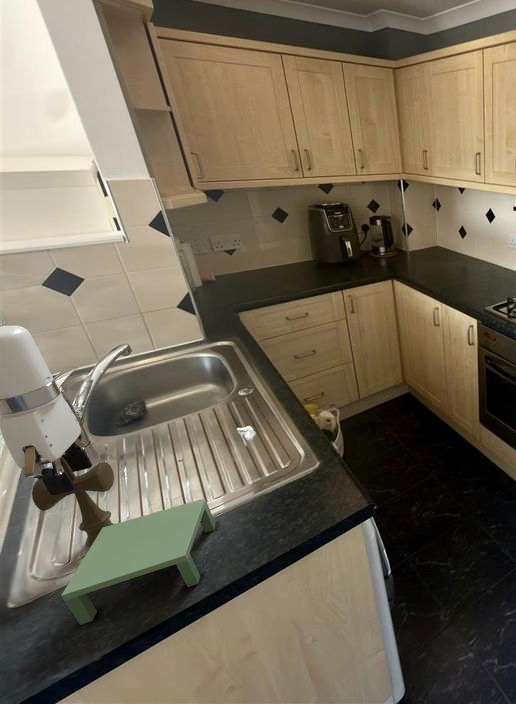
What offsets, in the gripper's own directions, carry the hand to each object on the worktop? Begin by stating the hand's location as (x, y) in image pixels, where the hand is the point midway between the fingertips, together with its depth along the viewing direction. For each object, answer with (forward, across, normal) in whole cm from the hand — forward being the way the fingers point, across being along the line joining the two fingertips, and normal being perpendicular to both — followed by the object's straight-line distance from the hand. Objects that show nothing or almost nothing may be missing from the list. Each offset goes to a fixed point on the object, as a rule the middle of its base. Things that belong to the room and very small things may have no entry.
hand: (72, 479), depth 76 cm
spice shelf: (+15, +13, +12) cm, 23 cm away
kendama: (+15, 0, 0) cm, 15 cm away
